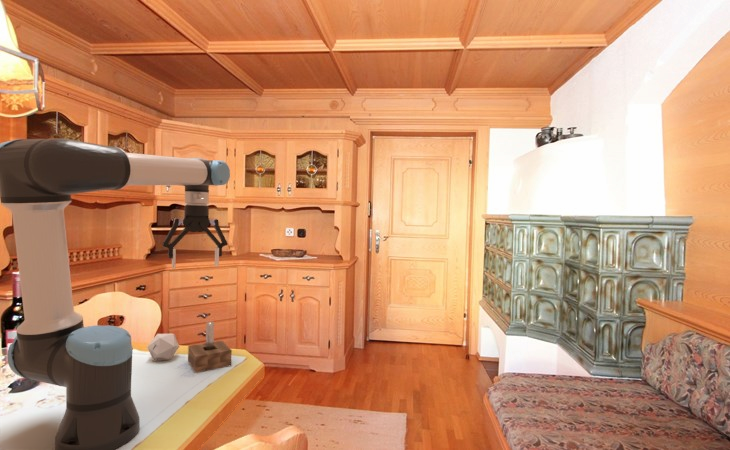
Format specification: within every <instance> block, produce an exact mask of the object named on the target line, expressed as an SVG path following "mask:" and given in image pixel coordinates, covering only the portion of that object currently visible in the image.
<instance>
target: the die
mask: <svg viewBox="0 0 730 450" xmlns="http://www.w3.org/2000/svg"><path fill="white" fill-rule="evenodd" d="M146 348H147V350H148V351H149V354H150V356H151V359H152V361H170V360H171V359H173V356H175V354H176V352H177V351H178V350H179V348H180V345H179V343H178V340H177V338H176V335H175V334H174V333H156V335H155V336H154V337H153V339H152V340H151V341H150V342H149V344H148V345H147V346H146Z"/></svg>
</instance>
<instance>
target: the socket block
mask: <svg viewBox="0 0 730 450" xmlns="http://www.w3.org/2000/svg"><path fill="white" fill-rule="evenodd" d="M187 349H188V351H187V353H188V354H187V355H188V356H187V360H188V363H189V365H190V366H191V368H192V370H193V371H194V373H200V372H205V371H209V370H214V369H221V368H225V367H229V365H230V366H232V353H233V351H232V349H231V348H230V347H229V346H228V345H227V343H226V342H224V340H216V341H214V349H213V350H208V351H206V342H203V343H200V344H199V343H198V344H193V345H188V348H187ZM224 366H225V367H224ZM220 367H221V368H220Z"/></svg>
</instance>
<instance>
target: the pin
mask: <svg viewBox="0 0 730 450" xmlns="http://www.w3.org/2000/svg"><path fill="white" fill-rule="evenodd" d="M205 323H206V324H205V325H206V326H205V343H206V351H208V350H213V349H214V342H215V339H214V337H215V322H214V321H207V322H205Z"/></svg>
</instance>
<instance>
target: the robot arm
mask: <svg viewBox="0 0 730 450" xmlns="http://www.w3.org/2000/svg"><path fill="white" fill-rule="evenodd" d="M230 178H231V169H230V166H229V164H228V163H227V162H225V161H224V160H219V159H218V160H217V159H211V160H209V159H208V160H207V159H204V158H198V157H197V158H196V157H189V158H188V157H176V156H166V155H155V154H146V153H144V154H143V153H135V152H126V151H125V150H124V149H122V148H120V147H118V146H109V145H103V144H98V143H92V142H87V141H81V140H76V139H68V138H59V137H58V138H57V137H56V138H17V139H12V140H9V141H4V142H1V143H0V205H1V206H3V207H5V209H7V210H9V211H10V212H11V214H12V223H13V224H12V225H13V231H14V242H15V249H16V257H17V266H18V275H19V284H20V290H21V291H20V292H21V299H22V308H23V309H22V310H23V316H24V320H23V321H22V322H21V323H20V324H19V325H18V327H17V328H16V336H14V338H13V342H11V343H10V345H9V347H8V350H7V354H6V355H7V356H6V359H7V364H8V367H9V368H10V370H11V371H12V372H13V373H14V374H16V375H17V376H19V377H20V378H23V379H26V380H28V381H32V382H34V383H35V382H36V383H44V384H48V385H55V386H59V387H64V388H65V391H66V393H65V394H66V395H65V397H66V406H65V411H64V414H63V417H62V419H61V423H60V424H59V427H58V430H57V432H56V435H55V441H54V449H55V450H116V449H118V448H120V447H122V446H124V445H125V444H126V443H128V442H130V441H132V439H134V438H135V436H136V435H137V434H138V433H139V430H140V421H141V420H140V415H139V412H138V410H137V407H136V405H135V403H134V400H133V397H132V373H133V368H132V367H133V345H132V336H131V333H130V332H129V331H128V330H126V328H123V327H120V326H116V325H109V324H108V325H107V324H106V325H101V324H99V325H90V326H84V317H83V315H82V314H80V313H78V312H76V311H75V307H74V299H73V290H72V281H71V268H70V267H71V266H70V260H69V250H68V241H67V239H68V238H67V232H66V220H65V212H64V211H65V208H67V207H68V205H70V204H71V203H72V195H76V194H85V193H91V192H100V191H113V190H122V189H124V188H125V187H126V186H184V204H186V205H184V215H183V217H184V218H183V219H179V218H174V219H173V224H172V226H171V228H170V230H169V231H168V233H167V235H166V237H165V238H164V240H163V242H162V244H161V246H163V247H164V248H167V249H168V253H167V254H168V256H167V257H168V259H171V269H176V262H177V261H176V260H177V259H176V257H177V253H176V251H177V250H176V248H175V247H176V245H178V244H179V242H180V241H181V240H183V238H184V237H185V236H186V235H187V234H188V233H189V232H190V233H196V232H197V233H203V232H204V233H205V234H206V235H207V236H208V237H209V239H210V240H211V241H212V242H213V243H214V244H215V245H216V247H214V266H215V267H219V266H220V265H219V264H220V260H219V259H220V257H222V256H223V247H226V246H228V241H227V239H226V237H225V235H224V233H223V231H222V229H221V227H220V225H219V223H220V222H219V219H217V218H214V219H210V218H209V217H210V216H209V212H210V210H209V209H210V207H209V206H208V205H209V204H210V186H217V187H218V186H225V185H226V184H227V183H228V182H229V181H230ZM181 224H183V225H184V228H183V229H182V231H181V232H179V234H177V236H176V237H175V238H174V239H173V240H172V241H171V239H172V238H173V236H174V234H175V233H176V231H177V229H178V227H179V226H181ZM210 224H211V226H213V228H214V229H215V232H216V234H217V236H218V237H219V239H220V241H219V239H218V238H217V237H216V236H215V235H214V234H213V233H212V232H211V230H210V229H209V228H208V227H209V225H210ZM170 241H171V242H170Z"/></svg>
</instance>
